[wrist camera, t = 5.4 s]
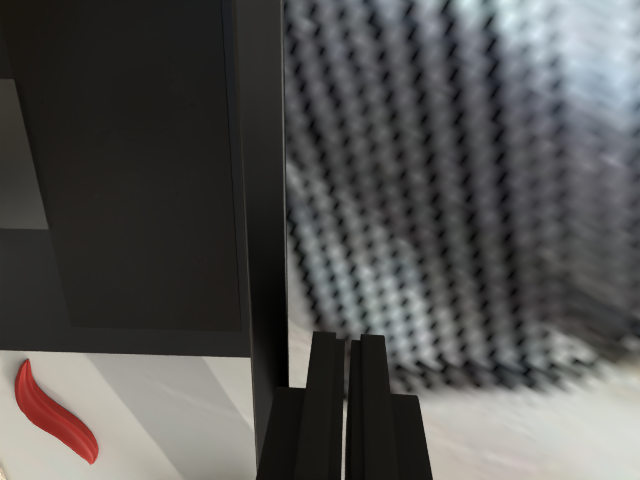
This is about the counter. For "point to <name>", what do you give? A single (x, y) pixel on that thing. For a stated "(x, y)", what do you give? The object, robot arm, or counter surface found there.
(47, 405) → the cayenne pepper
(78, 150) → the laptop
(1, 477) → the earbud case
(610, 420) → the counter surface
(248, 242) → the laptop screen
